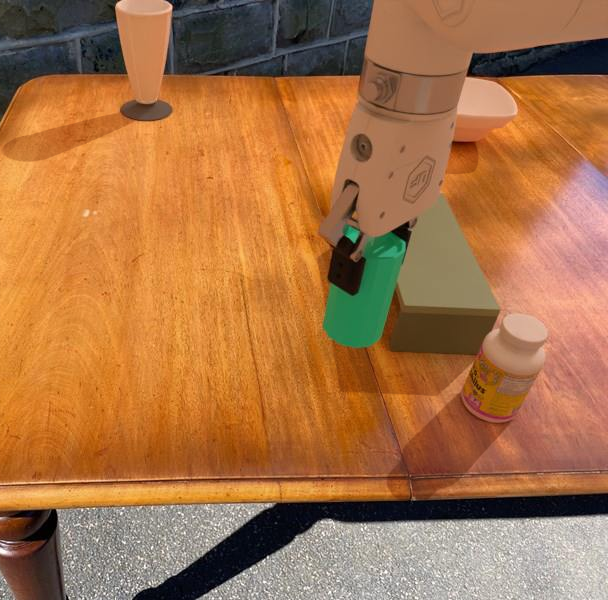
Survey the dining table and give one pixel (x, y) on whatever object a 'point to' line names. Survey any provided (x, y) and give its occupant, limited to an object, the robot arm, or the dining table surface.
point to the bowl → (482, 109)
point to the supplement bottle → (505, 368)
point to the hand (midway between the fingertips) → (365, 271)
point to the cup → (144, 54)
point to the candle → (366, 294)
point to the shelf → (442, 290)
